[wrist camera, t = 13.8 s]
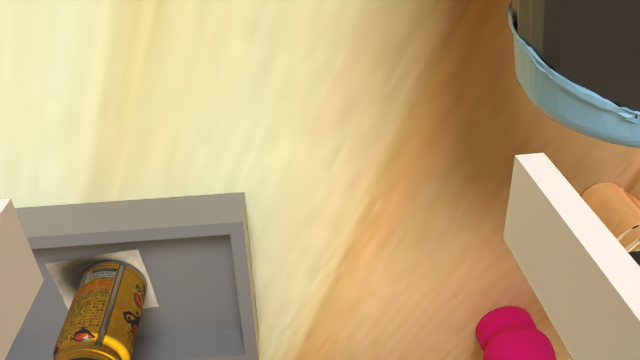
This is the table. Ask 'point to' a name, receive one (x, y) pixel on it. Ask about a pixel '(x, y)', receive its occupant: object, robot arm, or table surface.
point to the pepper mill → (512, 336)
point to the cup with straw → (616, 212)
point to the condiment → (101, 305)
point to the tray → (154, 273)
